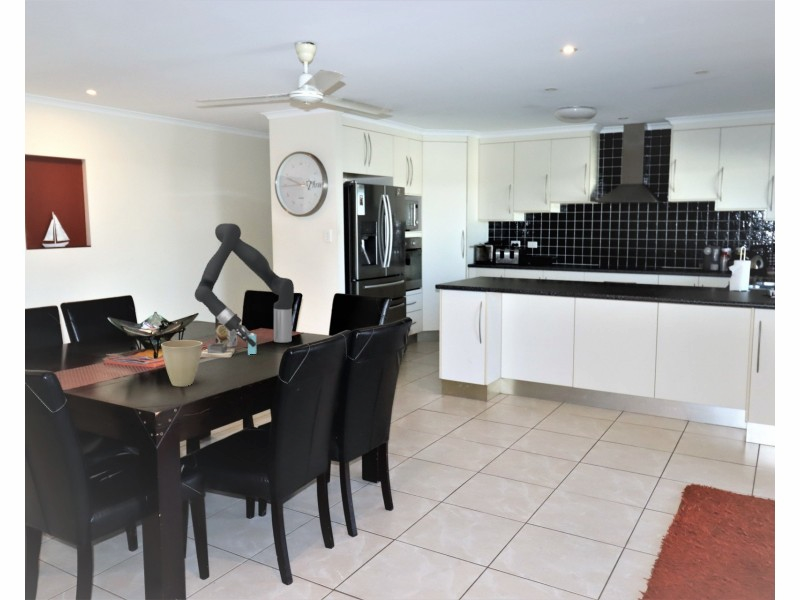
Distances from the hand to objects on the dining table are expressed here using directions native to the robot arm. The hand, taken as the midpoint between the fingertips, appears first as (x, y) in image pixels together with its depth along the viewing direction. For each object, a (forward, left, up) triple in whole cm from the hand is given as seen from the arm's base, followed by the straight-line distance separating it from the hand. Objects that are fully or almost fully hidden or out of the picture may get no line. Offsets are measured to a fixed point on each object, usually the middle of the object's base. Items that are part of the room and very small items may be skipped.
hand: (255, 344), depth 292 cm
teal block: (0, -1, -5) cm, 5 cm away
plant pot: (+53, -21, -5) cm, 57 cm away
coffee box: (-20, -16, -5) cm, 26 cm away
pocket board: (0, -17, -5) cm, 18 cm away
